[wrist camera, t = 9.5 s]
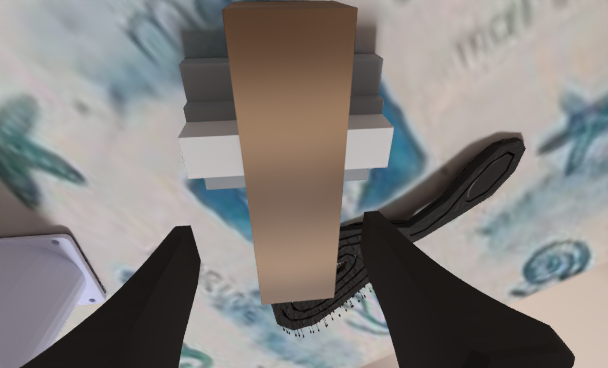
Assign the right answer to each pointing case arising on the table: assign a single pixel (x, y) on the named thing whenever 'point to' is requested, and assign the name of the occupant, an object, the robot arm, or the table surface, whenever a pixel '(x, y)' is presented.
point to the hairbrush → (407, 231)
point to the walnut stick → (293, 136)
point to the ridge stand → (224, 130)
